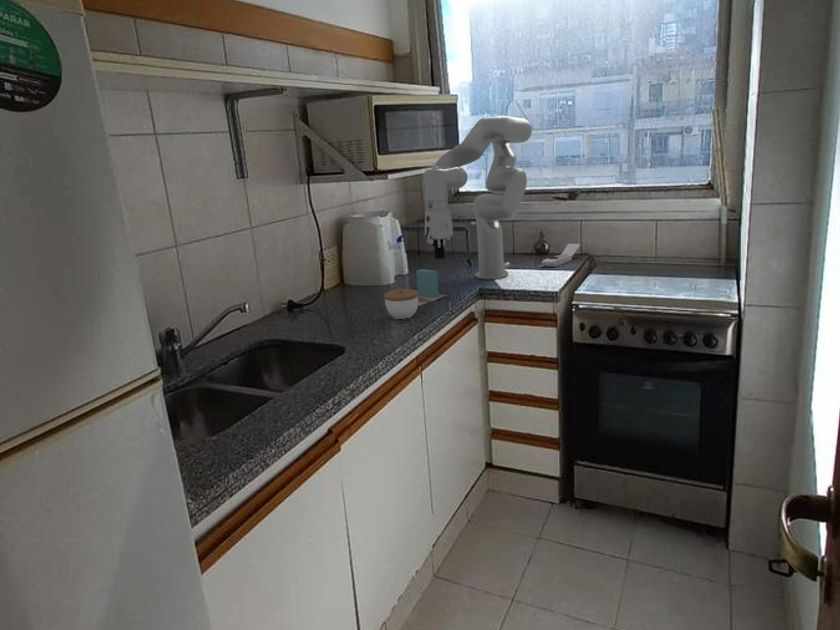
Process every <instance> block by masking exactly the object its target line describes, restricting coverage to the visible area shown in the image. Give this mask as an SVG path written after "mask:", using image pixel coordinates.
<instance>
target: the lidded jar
mask: <svg viewBox="0 0 840 630" xmlns="http://www.w3.org/2000/svg"><path fill="white" fill-rule="evenodd" d="M383 298H384V304H385V307H386V311H387V313H388V314H389V315H390V316H392V318H393V319H394V320H397V319H404V320H406V319H405V318H409V319H411V318H410V317H412V316H413V317H414V315H415V314H416V313H417V310H418V308H419V307H418V290H416V289H411V288H403V287H398V289H393V290H389V291H387V292H386V293H384V295H383ZM413 317H412V318H413Z"/></svg>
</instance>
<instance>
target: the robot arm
mask: <svg viewBox="0 0 840 630" xmlns="http://www.w3.org/2000/svg"><path fill="white" fill-rule="evenodd" d="M532 128H533V127H532V125H531V123H530V121H529V120H527V119H526V118H523V117H517V116H516V117H515V116H508V115H495V116H486V117H482V118H480V119H478V121H477V122H476V123H475V124H474V125H473V127H472V128H471V129H470V131H469V132H468V134H467V135H466V136H465V137H464V139H463V140H462V142H460V143H459V144H457V145H455V146H454V147H453V148H452V149H449V150H448V151H447V152H445V153H444V154H442V155H441V156H440V157H439V158H438V159H437V161H436V162H435V163H434V165H433V166H432V167H431V169H426V170H425V171H424V176H423V177H424V189H425V191H424V192H425V208H426V210H425V213H424V215H425V216H424V236H425V239H426V243H427V244H429V245H432V248H433V249H434V259H436V260H438V259H439V260H442V259H445V247H446V243H447V242H448V241H449V240H451V237H453V235H454V228H453V218H452V214H451V208H449V200H448V190H456V189H461V188H463V187H464V186H466V184H467V182H468V173H467V171H466V170H465V169H464V168H463V167H464V166H466V165H469V164H472V163H474V162H476V161H478V160H480V159H481V157H482V155H483V154H484V153H485V152H486V150H487V149H488V148H489V146H490V144H492V149H493V159H492V163H491V165H490V167H489V171H488V174H487V177H486V180H485V188H486V190H487V191H489V192H491V193H482V194H479V195H478V196H476V197H475V198H474V200H473V203H472V209H473V215H474V218H475V223H476V231H477V233H476V234H477V235H476V236H477V238H476V239H477V252H478V253H477V254H478V255H477V257H478V268H479V269H478V272H476V273H475V278H477V279H479V280H499V279H503V278H507V277H508V276H509V272H508V271H507V270H506V269H507V268H509V267H511V262H509V261H508V262H504V240H503V235H504V234H503V229H502V225H501V223H500V221H507V220H508V221H509V220H510V221H511V220H512V219H514V218H515V217H516V216H517V214H518V212H519V209H520V206H521V203H522V201H523V198H524V196H525V192H526V189H527V186H528V185H527V184H528V178H527V173H526V172H525V171H524V169H523V168H521V167H516V162H517V155H516V153H515V151H514V149H513V147H512V145H511V144H520V143H525V142H527V141H528V140H529V139H530V138H531V135H532V134H533V130H532Z"/></svg>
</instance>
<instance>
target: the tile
mask: <svg viewBox="0 0 840 630" xmlns="http://www.w3.org/2000/svg"><path fill="white" fill-rule="evenodd" d="M438 281H439V280H438V271H437V270H433V269H432V270H431V269H425V268H424V269H423V268H420V269H417V270H416V283H417V291H418V296H422V297H428V298H435V297H438V296H439V294H440V293H439V282H438Z"/></svg>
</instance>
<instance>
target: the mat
mask: <svg viewBox="0 0 840 630" xmlns="http://www.w3.org/2000/svg"><path fill="white" fill-rule="evenodd" d="M445 296H448V294H442V293H441V294H440V293H439V296H438V297H435V298H428V297H422V296H418V306H421V305H423V304H426V303H428V302H431V301H434V300H436V299H439V298H442V297H445ZM426 305H427V304H426ZM423 306H424V305H423ZM421 307H422V306H421Z"/></svg>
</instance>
